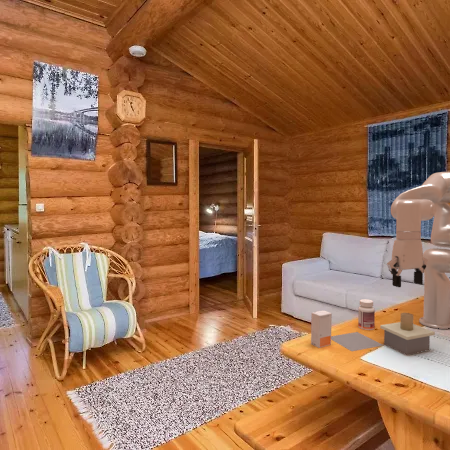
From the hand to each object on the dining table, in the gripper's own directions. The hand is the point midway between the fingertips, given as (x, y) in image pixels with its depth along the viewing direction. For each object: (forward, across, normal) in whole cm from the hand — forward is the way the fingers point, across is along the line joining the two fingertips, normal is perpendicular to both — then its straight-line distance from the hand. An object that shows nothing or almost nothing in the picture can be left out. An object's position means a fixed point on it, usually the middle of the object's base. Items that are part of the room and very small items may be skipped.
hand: (407, 285), depth 125 cm
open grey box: (+22, +1, +1) cm, 22 cm away
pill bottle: (+23, 0, -20) cm, 30 cm away
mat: (+22, +14, -10) cm, 28 cm away
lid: (+16, +1, +1) cm, 16 cm away
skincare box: (+22, +27, -12) cm, 37 cm away
